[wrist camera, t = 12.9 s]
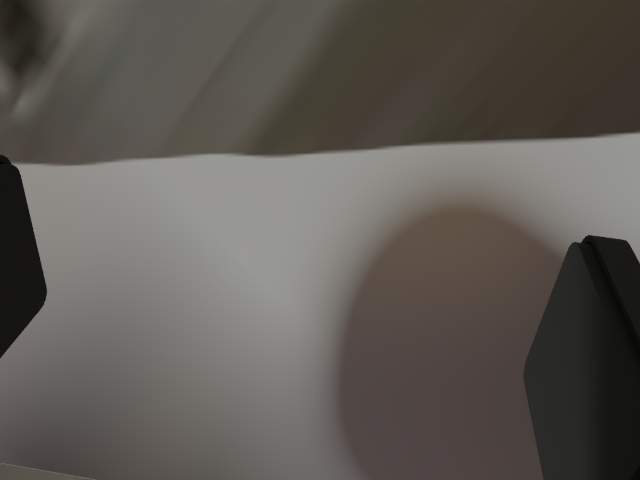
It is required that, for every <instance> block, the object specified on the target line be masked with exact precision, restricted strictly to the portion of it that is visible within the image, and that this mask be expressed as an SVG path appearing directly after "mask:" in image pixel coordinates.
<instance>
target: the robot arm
mask: <svg viewBox="0 0 640 480" xmlns="http://www.w3.org/2000/svg"><path fill="white" fill-rule="evenodd" d="M46 295H47V288H46V283H45V279H44V275H43V270H42V265H41V261H40V257H39V253H38V248H37V244H36V239H35V235H34V231H33V227H32V222H31V218H30V214H29V209H28V205H27V201H26V196H25V192H24V188H23V183H22V179H21V175H20V172H19V170H18V169H17V167H15V166H14V165H11V162H10V161H9V160H8V158H6V157H5V156H3V155H0V358H1V357H2V355H3V354H4V353H5V352H6V351H7V349H8V348H9V347H10V345H11V344H12V343H13V342H14V341H15V340H16V338H17V337H18V336H19V335H20V334H21V332H22V331H23V330H24V329H25V328H26V326H27V325H28V324H29V323H30V321H31V320H32V319H33V318H34V316H35V315H36V314H37V313H38V312H39V311H40V309H41V308H42V306H43V305H44V302H45V300H46ZM524 384H525V389H526V394H527V398H528V404H529V409H530V414H531V418H532V424H533V429H534V434H535V439H536V444H537V449H538V454H539V459H540V464H541V468H542V474H543V479H544V480H640V263H639V261H638V259H637V258H636V256H635V254H634V252H633V250H632V248H631V246H630V245H629V243H628V242H627V241H625V240H621V239H614V238H606V237H599V236H591V235H588V236H586V237H585V238H584V239H583V241H582V243H577V242H574V243H572V244H571V245H570V247H569V249H568V251H567V254H566V256H565V259H564V262H563V264H562V267H561V269H560V272H559V275H558V277H557V280H556V283H555V285H554V288H553V290H552V293H551V296H550V298H549V301H548V304H547V306H546V309H545V311H544V314H543V317H542V319H541V322H540V325H539V327H538V330H537V333H536V335H535V338H534V341H533V343H532V346H531V348H530V351H529V354H528V357H527V359H526V362H525V367H524ZM0 480H94V479H88V478H83V477H77V476H71V475H66V474H59V473H54V472H48V471H43V470H37V469H31V468H25V467H20V466H14V465H7V464H2V463H0Z"/></svg>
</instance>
